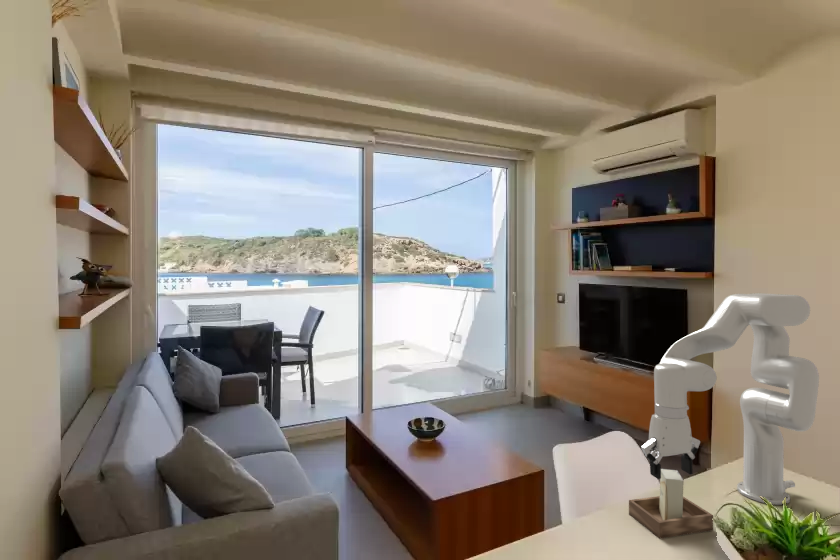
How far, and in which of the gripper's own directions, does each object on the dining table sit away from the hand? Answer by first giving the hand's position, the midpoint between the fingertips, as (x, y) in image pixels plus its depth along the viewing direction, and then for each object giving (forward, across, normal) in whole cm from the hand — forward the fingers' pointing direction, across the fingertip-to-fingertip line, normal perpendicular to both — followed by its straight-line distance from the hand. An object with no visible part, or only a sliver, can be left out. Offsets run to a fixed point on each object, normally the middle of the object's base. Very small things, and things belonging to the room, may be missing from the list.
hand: (671, 474), depth 121 cm
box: (+13, +1, 0) cm, 13 cm away
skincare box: (+12, 0, 0) cm, 12 cm away
